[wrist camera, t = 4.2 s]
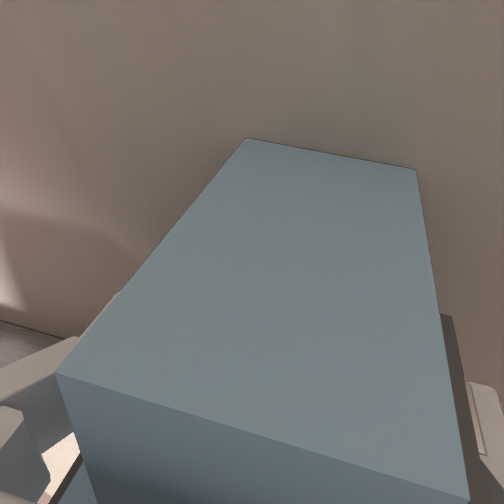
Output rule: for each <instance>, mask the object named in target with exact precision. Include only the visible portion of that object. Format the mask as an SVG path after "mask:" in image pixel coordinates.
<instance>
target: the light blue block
mask: <svg viewBox="0 0 504 504" xmlns="http://www.w3.org/2000/svg"><path fill="white" fill-rule="evenodd" d="M54 374H55V377H56V380H57V383H58V386H59V389H60V392H61V395H62V398H63V401H64V404H65V407H66V410H67V413H68V416H69V419H70V422H71V425H72V428H73V431H74V434H75V437H76V440H77V443H78V446H79V449H80V452H81V455H82V458H83V461H84V464H85V467H86V470H87V473H88V476H89V479H90V482H91V485H92V488H93V491H94V494H95V497H96V500H97V503H98V504H489V500H488V495H487V490H486V485H485V480H484V475H483V470H482V465H481V460H480V455H479V450H478V445H477V440H476V435H475V430H474V425H473V420H472V415H471V410H470V405H469V400H468V395H467V390H466V385H465V380H464V375H463V370H462V365H461V360H460V355H459V350H458V345H457V340H456V335H455V330H454V325H453V320H452V316H448V315H443V314H440V313H439V307H438V301H437V295H436V289H435V283H434V277H433V271H432V265H431V259H430V253H429V247H428V241H427V235H426V229H425V223H424V217H423V211H422V204H421V198H420V192H419V186H418V180H417V174H416V170H415V169H409V168H404V167H398V166H393V165H388V164H382V163H377V162H372V161H366V160H361V159H356V158H350V157H345V156H340V155H334V154H329V153H324V152H318V151H313V150H308V149H302V148H297V147H292V146H286V145H281V144H276V143H270V142H265V141H259V140H254V139H249V138H245V139H244V141H243V142H242V143H241V144H240V146H239V147H238V148H237V149H236V150H235V152H234V153H233V154H232V155H231V156H230V158H229V159H228V160H227V161H226V163H225V164H224V165H223V166H222V167H221V169H220V170H219V171H218V172H217V174H216V175H215V176H214V177H213V178H212V180H211V181H210V182H209V183H208V185H207V186H206V187H205V188H204V189H203V191H202V192H201V193H200V194H199V196H198V197H197V198H196V199H195V200H194V202H193V203H192V204H191V205H190V207H189V208H188V209H187V210H186V211H185V213H184V214H183V215H182V216H181V218H180V219H179V220H178V221H177V222H176V224H175V225H174V226H173V227H172V229H171V230H170V231H169V232H168V233H167V235H166V236H165V237H164V238H163V240H162V241H161V242H160V243H159V244H158V246H157V247H156V248H155V249H154V250H153V252H152V253H151V254H150V255H149V257H148V258H147V259H146V260H145V261H144V263H143V264H142V265H141V266H140V268H139V269H138V270H137V271H136V272H135V274H134V275H133V276H132V277H131V279H130V280H129V281H128V282H127V283H126V285H125V286H124V287H123V288H122V290H121V291H120V292H119V293H118V294H117V296H116V297H115V298H114V299H113V301H112V302H111V303H110V304H109V305H108V307H107V308H106V309H105V310H104V312H103V313H102V314H101V315H100V316H99V318H98V319H97V320H96V321H95V323H94V324H93V325H92V326H91V327H90V329H89V330H88V331H87V332H86V334H85V335H84V336H83V337H82V338H81V340H80V341H79V342H78V343H77V344H76V346H75V347H74V348H73V349H72V351H71V352H70V353H69V354H68V355H67V357H66V358H65V359H64V360H63V362H62V363H61V364H60V365H59V366H58V368H57V369H56V370H55V371H54Z"/></svg>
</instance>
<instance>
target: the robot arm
mask: <svg viewBox="0 0 504 504" xmlns="http://www.w3.org/2000/svg"><path fill="white" fill-rule="evenodd" d="M120 291H121V290H120ZM120 291H118V292H117V293H116V294H115V295H114V296H113V298H112V299H111V300H110V301H109V302H108V304H107V305H106V306H105V307H104V308H103V310H102V311H101V312H100V313H99V314H98V316H97V317H96V318H95V319H94V320H93V322H92V323H91V324H90V325H89V326H88V328H87V329H86V330H85V331H84V332H83V334H82V335H81V336H80V337H76V336H72V337H70V338H67V339H65V340H63V341H61V342H58V343H56V344H54V345H52V346H50V347H47V348H45V349H43V350H41V351H38V352H36V353H34V354H32V355H29V356H27V357H25V358H23V359H20V360H18V361H16V362H14V363H11V364H9V365H7V366H5V367H3V368H0V504H37V501H38V500H39V498H40V497H41V495H42V494H43V492H44V490H45V489H46V487H47V486H48V484H49V483H50V481H51V480H50V473H49V471H48V469H47V466H46V464H45V462H44V460H43V457H42V455H41V454H42V453H44V452H45V451H47V450H48V449H49V448H51V447H52V446H54V445H55V444H56V443H58V442H59V441H61V440H62V439H64V438H65V437H66V436H68V435H69V434H71V433H72V432H74V431H73V428H72V425H71V422H70V419H69V416H68V413H67V410H66V407H65V404H64V401H63V398H62V395H61V392H60V389H59V386H58V383H57V380H56V377H55V374H54V371H55V370H56V369H57V368H58V366H59V365H60V364H61V363H62V362H63V360H64V359H65V358H66V357H67V355H68V354H69V353H70V352H71V351H72V349H73V348H74V347H75V346H76V344H77V343H78V342H79V341H80V340H81V338H82V337H83V336H84V335H85V334H86V332H87V331H88V330H89V329H90V327H91V326H92V325H93V324H94V323H95V321H96V320H97V319H98V318H99V316H100V315H101V314H102V313H103V312H104V310H105V309H106V308H107V307H108V305H109V304H110V303H111V302H112V301H113V299H114V298H115V297H116V296H117V294H118V293H119V292H120ZM465 385H466V390H467V395H468V400H469V405H470V410H471V415H472V420H473V425H474V430H475V435H476V440H477V445H478V450H479V455H480V460H481V465H482V470H483V475H484V480H485V485H486V490H487V495H488V500H489V504H504V416H503V413H502V409H501V405H500V402H499V398H498V395H497V392H496V391H495V389H494V388H493V387H489V386H485V385H482V384H478V383H474V382H470V381H465Z"/></svg>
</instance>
